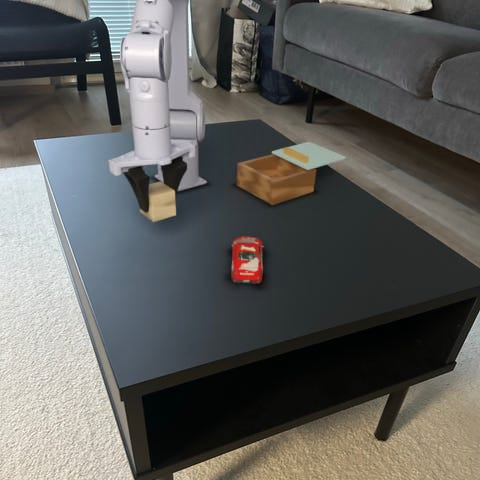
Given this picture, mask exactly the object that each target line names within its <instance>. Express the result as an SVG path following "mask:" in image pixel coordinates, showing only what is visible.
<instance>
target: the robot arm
mask: <svg viewBox="0 0 480 480" xmlns="http://www.w3.org/2000/svg"><path fill="white" fill-rule="evenodd" d="M189 2H190V0H136V2H135V5H134V10H133V15H132V19H131V25H130V29H129V30H130V31H129V33H127V34H126V37H125V36H123V37H122V38H121V40H120V43H119V44H120V45H119V59H120V60H119V61H120V67H121V72H122V73H121V74H122V75H123V79H124V87H125V91H126V93H127V94H128V96H129V107H130V114H131V115H130V116H131V126H132V137H133V147H134V150H131V151H129V152H126V153H124V154H122V155H120V156H117V157H115V158H114V157H113V158H111V159H108V166H109V167H108V168H109V172H110V173H111V174H112V175H113V176H115V177H118V176H121V175H124V177H125V179H126V180H127V182H128V183H129V185H130V187H131V189H132V191H133V194H134V195H135V197H136V201H137V204H138V208H139V210H140V209H141V210H143V211H144V212H149V195H148V192H149V184H150V181H151V176H150V175H148V174H147V173H146V171H145V170H144V168H147V167H151V166H155V165H157V174H155V175H154V178H155V179H157V180H158V181H159V182H163V183H164V184H166V185H167V186H169V187H170V188H172V189H173V190H175V202H176V200H177V196H178V192H181V191H184V190H188V189H191V188H196V187H200V186H203V185H206V184H207V183H208V181H207V180H206V179H204V178H202V177H201V176H200V175H199V174H200V173H199V167H200V166H199V142H203V140H204V139H205V135H206V134H205V133H206V115H205V104H204V102H203V100H202V99H201V98H200V97H198V96H197V95H196V94H195V93H194V92H192V90H191V79H190V78H191V77H190V74H191V73H190V35H189V34H190V33H189V31H190V30H189V5H190V3H189Z"/></svg>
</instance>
